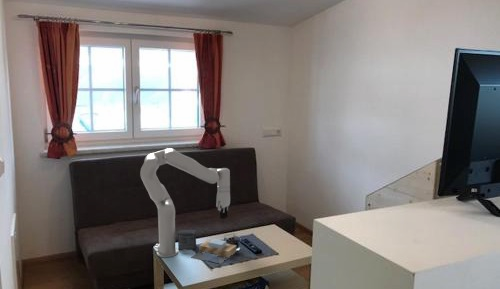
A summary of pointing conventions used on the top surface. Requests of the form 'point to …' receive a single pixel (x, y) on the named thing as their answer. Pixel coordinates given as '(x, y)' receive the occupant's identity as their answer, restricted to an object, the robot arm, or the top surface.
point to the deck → (224, 252)
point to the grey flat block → (217, 243)
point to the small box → (186, 239)
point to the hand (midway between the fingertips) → (223, 217)
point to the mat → (201, 257)
